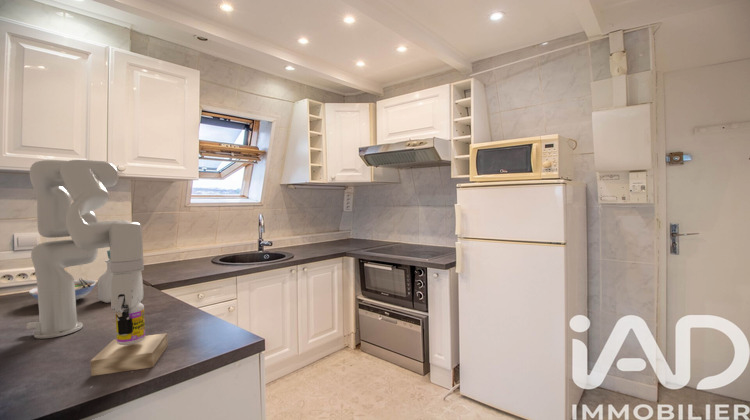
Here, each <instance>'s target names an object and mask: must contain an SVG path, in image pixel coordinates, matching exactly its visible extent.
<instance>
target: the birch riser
mask: <svg viewBox="0 0 750 420" xmlns="http://www.w3.org/2000/svg"><path fill="white" fill-rule="evenodd" d="M168 342H169V341H168V333H167V332H165V333H157V334H149V335H145V338H144V339H143V340H142V341H140V342H138V343H135V344H130V345H119V344H118V343H117V338H115V339H113V340H111V342H109V344H107V345H106V346H105V347H103V349H102V350H101V351H99V352H98V353H97V354H96V355H95V356H94V357H92V358H91V360H90V374H91V375H90V376H91V377H94V376H100V375H106V374H107V375H108V374H113V373H114V374H115V373H121V372H122V373H123V372H128V371H135V370H136V371H137V370H142V369H143V370H144V369H151V368H154V366H155V365H156V363H157V362H158V361H159V360H160V358H161V356H162V355H163V353H164V352H165V351H166V349H167V348H168V347H169V345H168Z"/></svg>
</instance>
